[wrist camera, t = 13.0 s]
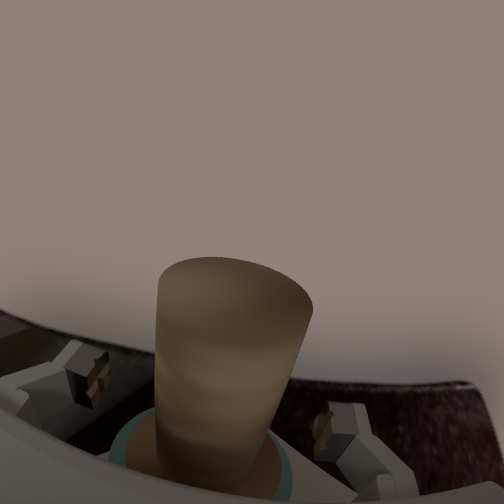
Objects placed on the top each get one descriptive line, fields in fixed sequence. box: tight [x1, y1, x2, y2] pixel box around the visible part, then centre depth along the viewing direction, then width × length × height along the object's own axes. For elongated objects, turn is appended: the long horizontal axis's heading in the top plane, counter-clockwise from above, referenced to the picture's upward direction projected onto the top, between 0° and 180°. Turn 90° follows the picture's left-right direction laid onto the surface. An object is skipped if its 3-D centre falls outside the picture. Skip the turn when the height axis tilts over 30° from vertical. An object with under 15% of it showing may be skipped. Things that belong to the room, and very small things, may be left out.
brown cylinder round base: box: [125, 257, 313, 500], centre depth 12 cm, size 8×8×11 cm
